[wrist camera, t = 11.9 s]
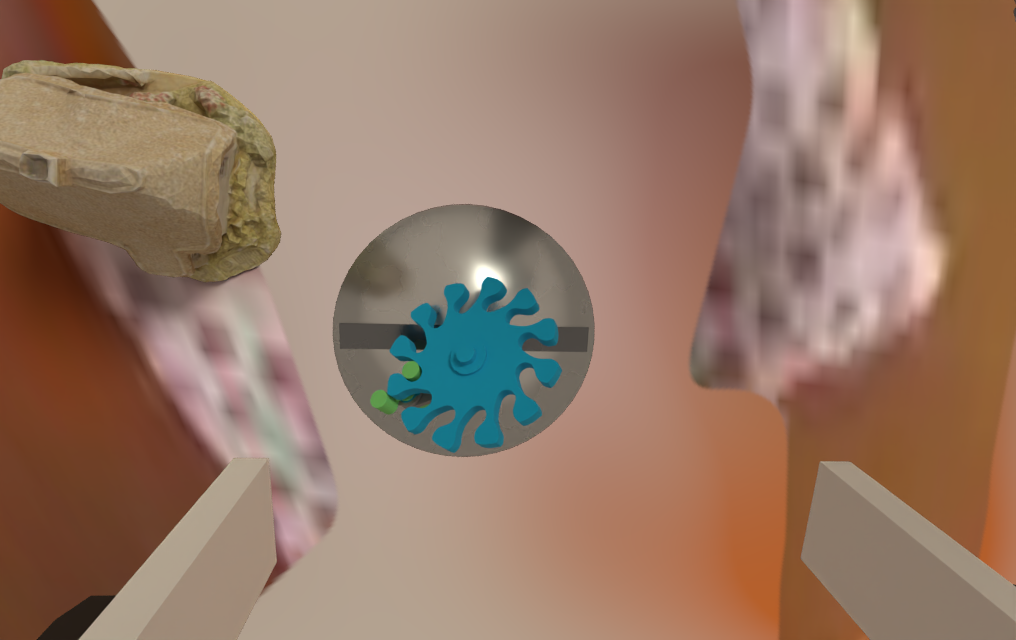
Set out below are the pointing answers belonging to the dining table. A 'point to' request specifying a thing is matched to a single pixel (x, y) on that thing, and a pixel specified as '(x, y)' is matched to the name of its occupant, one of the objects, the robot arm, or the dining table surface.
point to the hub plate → (422, 279)
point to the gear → (469, 365)
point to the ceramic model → (140, 165)
